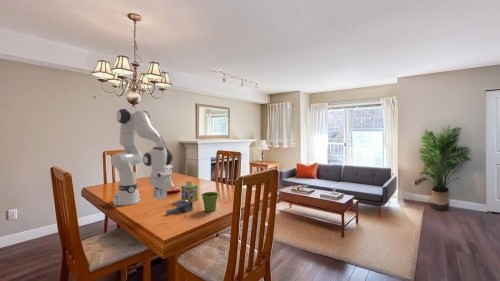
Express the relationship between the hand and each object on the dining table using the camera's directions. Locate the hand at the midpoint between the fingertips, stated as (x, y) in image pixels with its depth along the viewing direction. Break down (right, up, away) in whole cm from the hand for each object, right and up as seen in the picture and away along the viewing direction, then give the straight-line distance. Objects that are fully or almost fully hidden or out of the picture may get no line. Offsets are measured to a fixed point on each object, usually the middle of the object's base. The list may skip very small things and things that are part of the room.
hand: (159, 194), depth 147 cm
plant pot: (+29, -14, +13) cm, 35 cm away
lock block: (0, -2, 0) cm, 2 cm away
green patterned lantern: (+9, -13, +36) cm, 40 cm away
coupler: (+8, -14, +10) cm, 19 cm away
